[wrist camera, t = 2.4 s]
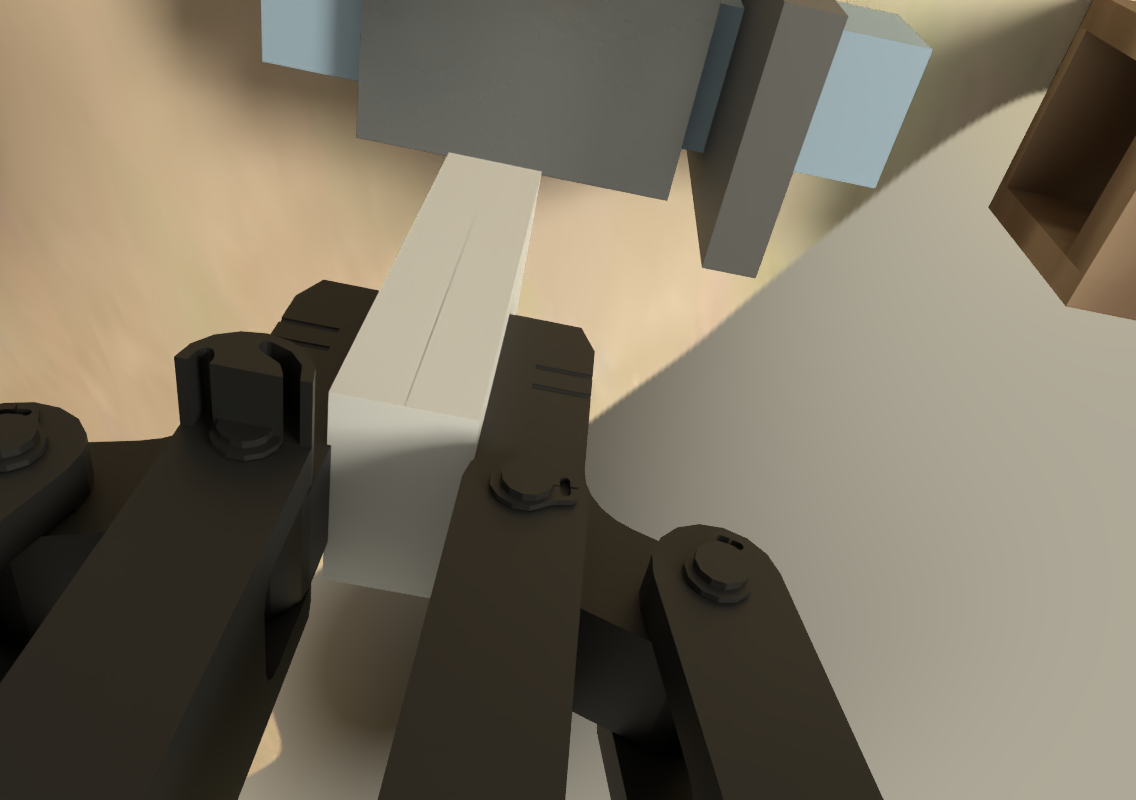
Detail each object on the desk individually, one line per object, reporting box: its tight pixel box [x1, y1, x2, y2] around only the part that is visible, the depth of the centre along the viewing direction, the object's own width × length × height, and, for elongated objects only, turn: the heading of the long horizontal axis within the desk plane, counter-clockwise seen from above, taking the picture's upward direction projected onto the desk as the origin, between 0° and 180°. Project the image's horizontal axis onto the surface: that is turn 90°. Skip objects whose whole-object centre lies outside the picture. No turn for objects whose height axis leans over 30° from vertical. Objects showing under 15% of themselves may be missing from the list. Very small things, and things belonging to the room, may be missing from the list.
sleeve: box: [356, 0, 721, 201], centre depth 26 cm, size 9×6×6 cm
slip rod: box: [261, 0, 933, 278], centre depth 24 cm, size 18×6×10 cm, turn 79°
